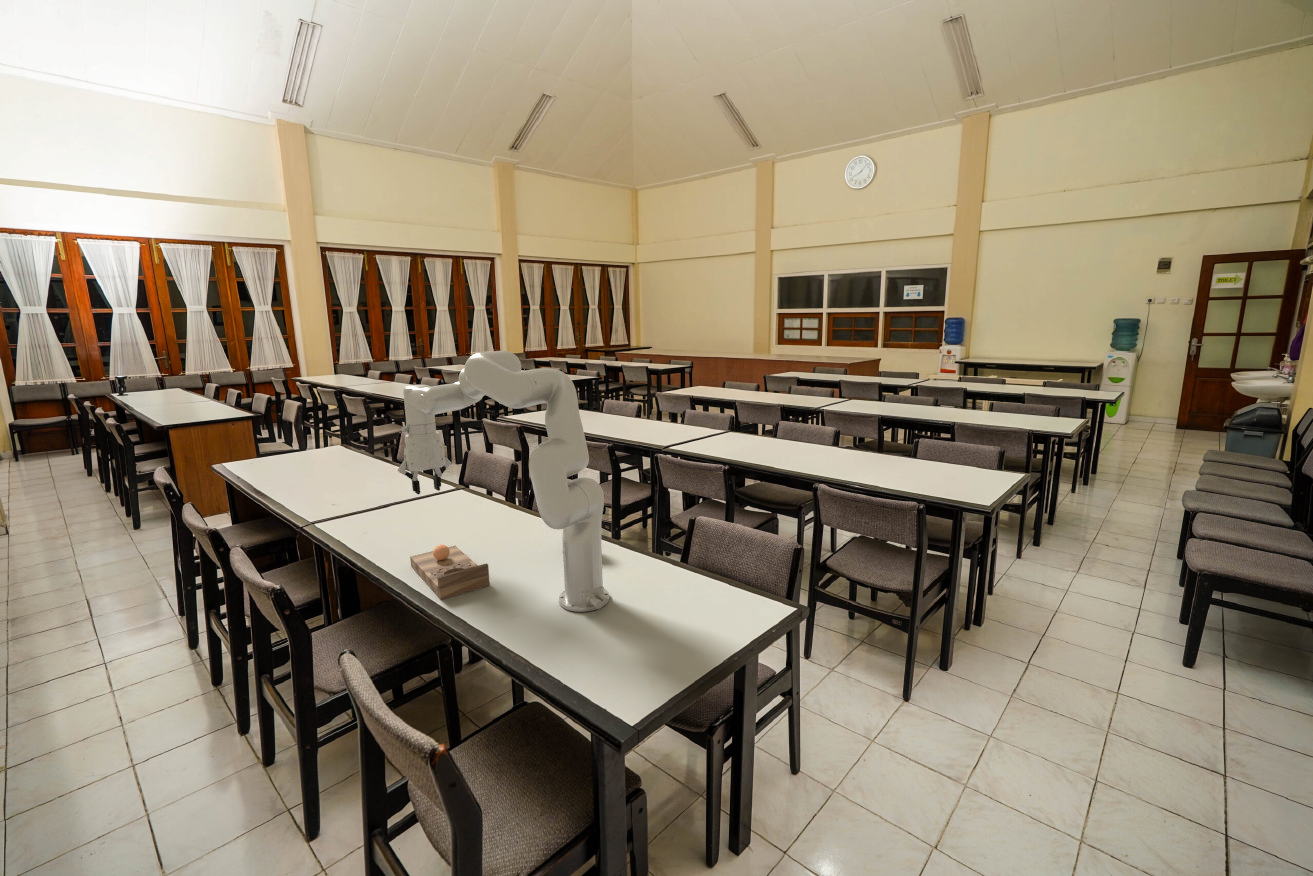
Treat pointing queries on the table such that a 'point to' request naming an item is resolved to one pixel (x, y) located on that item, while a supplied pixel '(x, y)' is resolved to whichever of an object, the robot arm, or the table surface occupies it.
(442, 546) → the ball
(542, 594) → the table surface
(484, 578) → the brown piece
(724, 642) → the table surface
